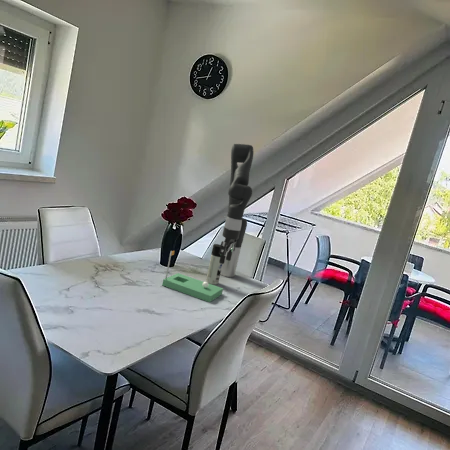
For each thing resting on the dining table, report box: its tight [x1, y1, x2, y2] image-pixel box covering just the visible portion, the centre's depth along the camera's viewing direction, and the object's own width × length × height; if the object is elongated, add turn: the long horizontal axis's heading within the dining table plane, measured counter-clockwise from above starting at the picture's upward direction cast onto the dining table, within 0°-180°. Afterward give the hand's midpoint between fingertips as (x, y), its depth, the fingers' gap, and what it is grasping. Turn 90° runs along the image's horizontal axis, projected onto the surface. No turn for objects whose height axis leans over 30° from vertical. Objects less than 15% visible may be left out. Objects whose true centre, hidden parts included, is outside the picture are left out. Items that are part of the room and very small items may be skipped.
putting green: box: [161, 250, 224, 303], centre depth 202 cm, size 15×25×17 cm, turn 69°
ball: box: [202, 281, 209, 288], centre depth 201 cm, size 3×3×3 cm
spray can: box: [205, 243, 224, 286], centre depth 219 cm, size 7×7×20 cm
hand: (224, 261), depth 196 cm, fingers open, 7 cm apart
